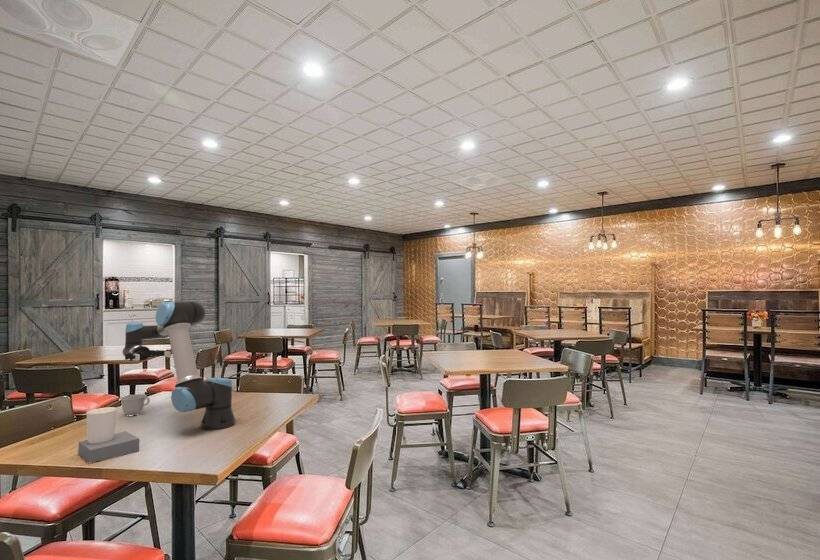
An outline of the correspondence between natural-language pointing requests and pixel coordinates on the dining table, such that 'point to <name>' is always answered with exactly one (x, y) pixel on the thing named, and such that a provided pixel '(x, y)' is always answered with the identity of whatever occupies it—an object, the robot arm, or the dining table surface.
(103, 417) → the candle holder
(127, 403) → the teacup
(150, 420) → the dining table surface
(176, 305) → the robot arm
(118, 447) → the riser block
